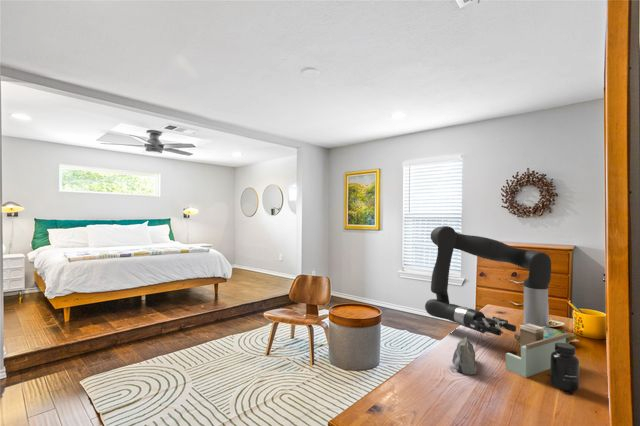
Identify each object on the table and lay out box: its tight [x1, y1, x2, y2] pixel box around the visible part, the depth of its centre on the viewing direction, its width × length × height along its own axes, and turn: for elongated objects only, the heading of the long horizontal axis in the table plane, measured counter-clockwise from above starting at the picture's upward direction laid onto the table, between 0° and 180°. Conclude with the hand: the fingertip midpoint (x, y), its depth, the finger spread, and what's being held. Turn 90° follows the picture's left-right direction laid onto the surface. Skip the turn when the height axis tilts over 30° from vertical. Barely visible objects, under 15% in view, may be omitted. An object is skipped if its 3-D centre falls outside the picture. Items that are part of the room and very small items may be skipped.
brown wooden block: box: [519, 323, 544, 357], centre depth 113 cm, size 5×5×12 cm
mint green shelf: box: [505, 332, 569, 378], centre depth 112 cm, size 22×9×10 cm, turn 117°
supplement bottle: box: [549, 342, 580, 393], centre depth 98 cm, size 7×7×12 cm
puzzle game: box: [513, 326, 577, 345], centre depth 130 cm, size 12×5×20 cm
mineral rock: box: [451, 336, 477, 375], centre depth 111 cm, size 13×11×10 cm
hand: (508, 330), depth 120 cm, fingers open, 8 cm apart
